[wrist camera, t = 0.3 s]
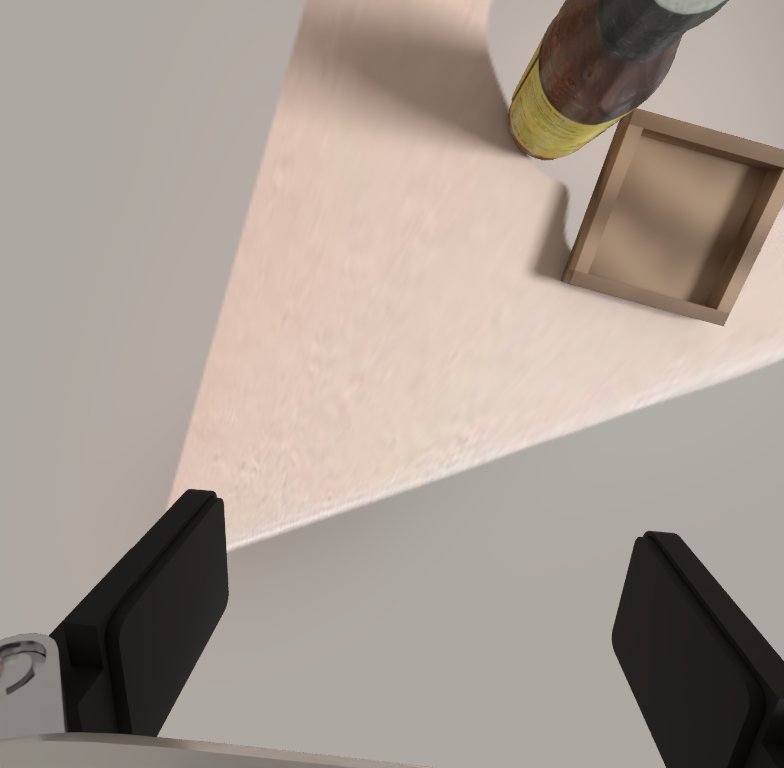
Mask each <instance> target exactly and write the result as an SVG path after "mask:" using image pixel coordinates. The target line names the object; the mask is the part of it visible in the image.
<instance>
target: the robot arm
mask: <svg viewBox="0 0 784 768" xmlns="http://www.w3.org/2000/svg"><path fill="white" fill-rule="evenodd" d="M228 596H229V591H228V573H227V553H226V535H225V517H224V502H223V500H222V499H221V498H217V495H216V493H215V492H214V491H207V490H196V489H188V490H187V491H186V492H185V493H184V494H183V495H182V496H181V497H180V498H179V499H178V500H177V501H176V502H175V503H174V504H173V505H172V507H171V508H170V509H169V510H168V511H167V512H166V513H165V514H164V515H163V516H162V517H161V518H160V519H159V521H157V523H156V524H155V525H154V526H153V527H152V528H151V529H150V530H149V531H148V532H147V533H146V534H145V535H144V536H143V537H142V538H141V539H140V541H139V542H138V543H137V544H136V545H135V546H134V547H133V548H131V549H130V550H129V551H128V552H127V553H126V554H125V555H124V557H123V558H122V559H121V560H120V561H119V562H118V563H117V564H116V565H115V566H114V567H113V568H112V569H111V570H110V572H108V573H107V575H106V576H105V577H104V578H103V579H102V580H101V581H100V582H99V583H98V584H97V585H96V586H95V587H94V588H93V589H92V590H91V592H90V593H89V594H88V595H87V596H86V597H85V598H84V599H83V600H82V601H81V602H80V603H79V604H78V605H77V606H76V607H75V608H74V610H73V611H72V612H71V613H70V614H69V615H68V616H67V617H66V618H65V619H64V620H63V621H62V622H61V623H60V624H59V625H58V626H57V628H56V629H55V630H54V631H53V632H52V633H51V634H50V635H49V636H47V635H43V634H37V633H29V634H19V635H16V636H12V637H8V638H4V639H2V640H0V768H433V767H425V766H417V765H408V764H400V763H391V762H383V761H373V760H365V759H357V758H349V757H340V756H331V755H321V754H313V753H304V752H295V751H286V750H277V749H267V748H259V747H250V746H241V745H232V744H223V743H214V742H203V741H193V740H182V739H171V738H161V737H157V735H158V733H159V732H160V730H161V728H162V726H163V724H164V722H165V720H166V719H167V716H168V715H169V713H170V711H171V709H172V707H173V706H174V704H175V702H176V700H177V698H178V696H179V694H180V692H181V691H182V689H183V687H184V685H185V683H186V681H187V679H188V678H189V676H190V674H191V672H192V670H193V668H194V666H195V665H196V662H197V661H198V659H199V657H200V655H201V653H202V652H203V650H204V648H205V646H206V644H207V642H208V641H209V639H210V637H211V635H212V633H213V631H214V629H215V628H216V626H217V624H218V622H219V620H220V618H221V617H222V615H223V613H224V611H225V609H226V606H227V602H228ZM612 645H613V649H614V652H615V654H616V656H617V659H618V661H619V663H620V665H621V668H622V670H623V672H624V674H625V676H626V679H627V681H628V683H629V685H630V687H631V690H632V692H633V694H634V697H635V699H636V701H637V703H638V705H639V707H640V710H641V712H642V714H643V717H644V719H645V721H646V723H647V726H648V728H649V730H650V732H651V735H652V737H653V739H654V741H655V743H656V745H657V748H658V750H659V752H660V755H661V757H662V759H663V761H664V764H665V766H666V768H784V661H783V660H782V659H781V657H780V656H779V655H778V654H777V653H776V651H775V650H774V649H773V648H772V647H771V645H770V644H769V643H768V642H767V640H766V639H765V638H764V637H763V636H762V634H761V633H760V632H759V631H758V630H757V629H756V627H755V626H754V625H753V624H752V623H751V621H750V620H749V619H748V618H747V617H746V615H745V614H744V613H743V612H742V611H741V610H740V608H739V607H738V606H737V605H736V604H735V602H734V601H733V600H732V599H731V597H730V596H729V595H728V594H727V593H726V591H725V590H724V589H723V588H722V587H721V585H720V584H719V583H718V582H717V581H716V579H715V578H714V577H713V576H712V575H711V573H710V572H709V571H708V570H707V569H706V567H705V566H704V565H703V564H702V563H701V561H700V560H699V559H698V558H697V557H696V556H695V554H694V553H693V552H692V551H691V549H690V548H689V547H688V546H687V545H686V543H684V541H683V540H682V539H681V537H680V536H678V535H677V534H675V533H666V532H655V531H647V532H646V533H645V534H644V535H643V537H638V538H637V539H636V541H635V544H634V547H633V552H632V555H631V559H630V563H629V567H628V571H627V575H626V579H625V583H624V587H623V591H622V595H621V599H620V603H619V607H618V611H617V615H616V619H615V623H614V627H613V631H612Z"/></svg>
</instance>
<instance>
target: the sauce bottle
mask: <svg viewBox="0 0 784 768" xmlns="http://www.w3.org/2000/svg"><path fill="white" fill-rule="evenodd" d="M727 1H728V0H566V1H565V3H564V4H563V6H562V7H561V9H560V11H559V13H558V15H557V16H556V17H555V18H554V20H553V21H552V22H551V24H550V25H549V27H548V29H547V31H546V33H545V34H544V36H543V38H542V40H541V42H540V44H539V46H538V48H537V50H536V52H535V54H534V55H533V57H532V59H531V61H530V63H529V65H528V66H527V69H526V71H525V72H524V74H523V76H522V78H521V80H520V82H519V84H518V86H517V87H516V90H515V92H514V94H513V97H512V104H511V106H510V108H509V127H510V131H511V133H512V136H513V138H514V141H515V142H516V144H517V146H518V147H519V149H520V150H522V151H523V152H525V153H526V154H528V155H530V156H532V157H534V158H537V159H541V160H553V159H556V158H559V157H564V156H567V155H569V154H571V153H573V152H575V151H577V150H579V149H580V148H581V147H583V146H584V145H585V144H586V143H588V142H589V141H591V140H592V139H594V138H595V137H596V136H598V135H600V134H601V133H603V132H604V131H605V130H606V129H607V128H609V127H610V126H612V125H613V124H615V123H616V122H618V121H619V120H620V119H621V118H623V117H624V116H626V115H627V114H629V113H630V112H631V111H633V110H634V109H635V108H636V107H638V106H639V105H640V104H642V103H643V102H644V101H645V100H647V99H648V98H649V97H650V95H652V94H653V93H654V92H655V90H656V89H657V88H658V87H659V85H660V84H661V83H662V81H663V80H664V78H665V76H666V75H667V73H668V71H669V69H670V67H671V65H672V62H673V60H674V58H675V54H676V51H677V48H678V46H679V43H680V40H681V38H682V35H683V34H684V33H685V32H686V31H687V30H689V29H691V28H694V27H696V26H698V25H699V24H701V23H703V22H704V21H705V20H707V19H709V18H710V17H711V16H713V15H714V14H715V13H716V12H718V11H719V10H720V9H721V8H722V6H723V5H725V4H726V2H727Z"/></svg>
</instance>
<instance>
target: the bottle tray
mask: <svg viewBox="0 0 784 768" xmlns="http://www.w3.org/2000/svg"><path fill="white" fill-rule="evenodd" d="M783 203H784V150H783V149H779V148H776V147H772V146H769V145H765V144H761V143H758V142H754V141H751V140H747V139H744V138H740V137H737V136H733V135H729V134H726V133H722V132H719V131H715V130H711V129H708V128H704V127H701V126H697V125H694V124H690V123H687V122H683V121H680V120H676V119H673V118H669V117H665V116H662V115H659V114H655V113H651V112H648V111H644V110H641V109H637V108H635V109H634V110H633V111H631V112H630V113H629V114H627V115H626V116H624V117H623V118H621V119H620V121H619V123H618V126H617V129H616V132H615V134H614V137H613V140H612V142H611V145H610V148H609V151H608V153H607V156H606V159H605V162H604V164H603V167H602V170H601V172H600V175H599V178H598V181H597V183H596V186H595V189H594V191H593V195H592V197H591V200H590V202H589V205H588V208H587V211H586V213H585V216H584V219H583V222H582V224H581V227H580V230H579V232H578V235H577V238H576V241H575V243H574V246H573V249H572V251H571V254H570V257H569V260H568V262H567V265H566V268H565V270H564V273H563V276H562V279H561V281H563V282H566V283H569V284H573V285H577V286H580V287H584V288H587V289H591V290H595V291H598V292H602V293H605V294H609V295H613V296H616V297H620V298H623V299H627V300H631V301H634V302H638V303H641V304H645V305H649V306H652V307H656V308H659V309H663V310H667V311H670V312H674V313H677V314H681V315H685V316H688V317H692V318H695V319H699V320H703V321H706V322H710V323H714V324H717V325H721V326H724V324H725V322H726V320H727V318H728V316H729V314H730V312H731V310H732V308H733V306H734V304H735V302H736V300H737V297H738V295H739V293H740V291H741V289H742V287H743V285H744V283H745V281H746V279H747V277H748V275H749V273H750V271H751V269H752V267H753V264H754V262H755V260H756V258H757V256H758V254H759V252H760V250H761V248H762V246H763V244H764V242H765V240H766V238H767V236H768V234H769V231H770V229H771V227H772V225H773V223H774V221H775V219H776V217H777V215H778V213H779V211H780V209H781V207H782V205H783Z"/></svg>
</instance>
